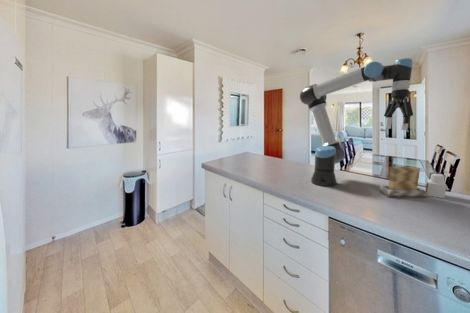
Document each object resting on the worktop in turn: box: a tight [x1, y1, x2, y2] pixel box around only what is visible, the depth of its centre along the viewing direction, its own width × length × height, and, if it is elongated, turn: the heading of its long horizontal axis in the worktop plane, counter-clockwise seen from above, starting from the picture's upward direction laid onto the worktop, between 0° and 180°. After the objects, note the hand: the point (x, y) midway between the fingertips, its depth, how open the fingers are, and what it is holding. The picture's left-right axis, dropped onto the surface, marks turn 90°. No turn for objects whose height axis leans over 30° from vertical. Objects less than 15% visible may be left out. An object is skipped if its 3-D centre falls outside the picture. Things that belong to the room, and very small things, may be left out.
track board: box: [378, 185, 427, 199], centre depth 116 cm, size 18×9×4 cm, turn 85°
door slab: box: [387, 166, 421, 190], centre depth 115 cm, size 12×4×14 cm, turn 85°
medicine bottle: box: [425, 172, 447, 199], centre depth 113 cm, size 7×7×12 cm
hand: (395, 129), depth 119 cm, fingers open, 13 cm apart
